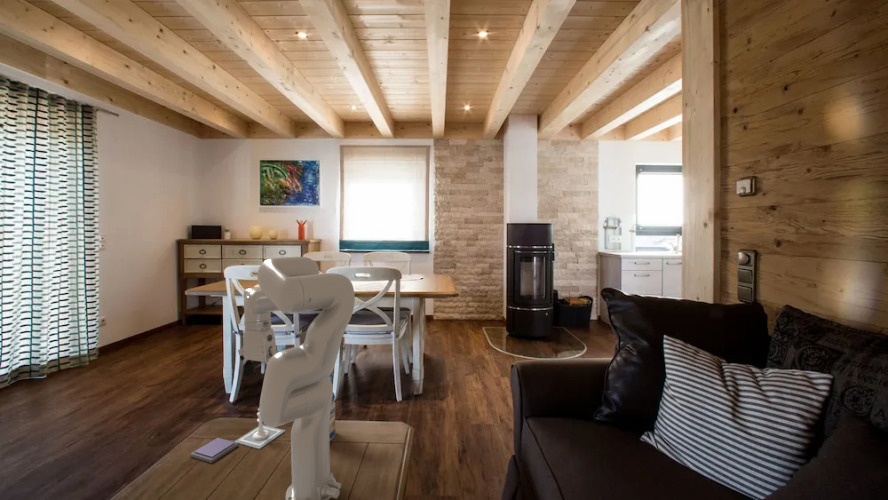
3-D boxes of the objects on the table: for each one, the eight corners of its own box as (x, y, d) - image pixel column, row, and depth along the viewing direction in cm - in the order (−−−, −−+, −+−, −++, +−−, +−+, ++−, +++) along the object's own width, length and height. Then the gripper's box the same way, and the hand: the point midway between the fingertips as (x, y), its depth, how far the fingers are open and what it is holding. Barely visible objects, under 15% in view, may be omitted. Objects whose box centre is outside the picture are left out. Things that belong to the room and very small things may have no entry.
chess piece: (262, 441, 116) (261, 411, 116) (249, 439, 117) (248, 410, 116) (272, 432, 121) (271, 404, 120) (259, 431, 122) (258, 403, 121)
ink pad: (238, 446, 114) (237, 441, 114) (211, 463, 105) (211, 458, 105) (218, 440, 117) (217, 436, 117) (190, 456, 108) (190, 452, 108)
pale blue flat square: (285, 431, 122) (285, 430, 122) (259, 449, 112) (259, 448, 112) (261, 425, 126) (261, 424, 126) (234, 442, 116) (234, 441, 116)
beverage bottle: (321, 428, 124) (320, 372, 123) (341, 432, 121) (340, 376, 120) (303, 441, 116) (302, 382, 115) (324, 446, 113) (324, 386, 113)
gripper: (287, 324, 115) (289, 375, 116) (248, 321, 121) (250, 370, 122) (268, 329, 108) (270, 384, 108) (228, 326, 114) (230, 378, 114)
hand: (260, 377), depth 115 cm, fingers open, 9 cm apart
